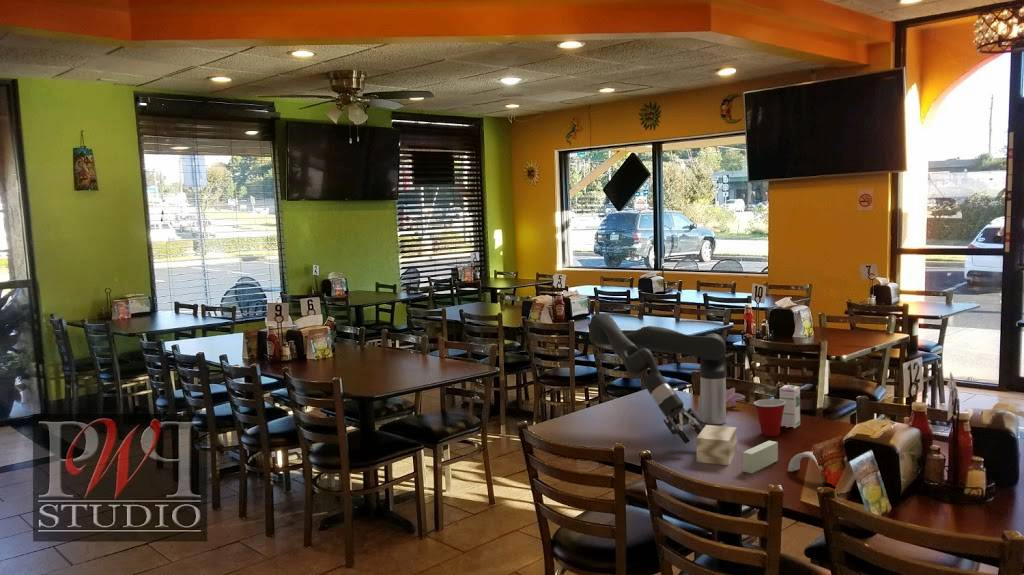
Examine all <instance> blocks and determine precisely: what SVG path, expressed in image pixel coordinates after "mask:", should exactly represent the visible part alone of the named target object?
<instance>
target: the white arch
mask: <svg viewBox="0 0 1024 575" xmlns="http://www.w3.org/2000/svg"><path fill="white" fill-rule="evenodd" d="M813 452H814V451H804V452H802V453H801V452H800V453H798V454H795V455H794V456H793V457H792V458H791V459H790V461H789V464H788V467H787V471H788V472H791V473H792V472H795V471H798V470H800V468H801V467H800V466H801V460H802V459H803V458H806V457H807V458H810V459H812V461H813V462H814V463H815V464H816V466H817V468H818V469H819V466H818V463H817V460H816V458H815V456H814V455H813Z"/></svg>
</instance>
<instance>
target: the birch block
mask: <svg viewBox="0 0 1024 575" xmlns="http://www.w3.org/2000/svg"><path fill="white" fill-rule="evenodd" d="M737 430H738V429H737V427H735V426H723V425H715V424H705V426H704V427H703V428H702V431H701V432H700V434H699V435H698V434H697V437H696V462H697V463H705V464H713V465H715V464H716V465H725V466H730V464H731V462H732V460H733V458H734V456H735V455H736V453H737V450H738V446H737V444H738V443H737V442H738V441H737V439H738V438H737V435H738V434H737Z"/></svg>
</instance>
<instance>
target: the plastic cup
mask: <svg viewBox="0 0 1024 575" xmlns="http://www.w3.org/2000/svg"><path fill="white" fill-rule="evenodd" d="M785 403H786V401H784V400H780V398H777V399H776V398H767V399H758V400H756V401H754V402H753V404H754V406H755V408H756V412H757V416H758V421H759V426H760V432H761V434H763V435H762V436H764V435H765V437H770V436H771V437H772V438H774V437H773V436H775V437H778V436H779V435H780V432H781V427H782V426H781V422H782V416H783V411H784V405H785Z"/></svg>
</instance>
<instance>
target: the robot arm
mask: <svg viewBox="0 0 1024 575" xmlns="http://www.w3.org/2000/svg"><path fill="white" fill-rule="evenodd" d="M589 321H590V322H589V333H588V339H589V341H590V342H591V343H593V344H596V345H597V344H598V345H603V346H611V348H612V350H613V351H614V353H615V354H616V355H617V356H618V357H619V358H620V359H621V360H622V361H623V363H624V367H625V369H626V371H627V372H628V373H629V374H630V375H631V376H638V375H639V374H641V373H642V372H645V371H646V370H648V369H649V370H650V371H649V372H648V374H646V375H645V377H643V379H642V384H643V386H644V387H645V389H646V390H647V392H648V393H649V395H650V396H651V398H652V399H653V402H655V404H656V406H657V407H658V408H659V410H660V411H661V412H662V414H663V416H665V417H664V419H663V423H664V424H665V426H666V427H667V428H668V430H669V431H670V433H671V434H672V435H677V436H679V438H680V439H681V441H682V442H683V443H684V444H685V445H687V444H689V443H690V442H691V438H690V437H689V435H688V434H687V432H685V430H684V429H683V426H687V427H690V428H692V429H693V430H694V432H695V433H696V435H697V436H698V435H699V434H700V432H701V431H702V430H703V428H702V427H701V425H700V424H701V423H704V424H706V423H707V424H706V425H721V424H722V425H723V424H725V423H726V422H727V404H726V389H727V386H726V385H727V384H726V382H727V381H726V379H727V377H726V376H727V375H726V373H727V372H726V369H727V364H726V363H727V362H726V360H727V358H726V341H725V340H724V338H723V337H722V336H721V335H720V334H718V333H707V334H705V335H704V336H700V335H699V336H697V335H691V334H685V333H682V332H680V331H676V330H673V329H669V328H667V327H661V326H653V325H648V326H647V325H645V326H643V327H641V328H639V329H636V330H634V331H631V332H629V333H625V334H624V332H623V331H622V330H621V328H620V327H619V325H618V324H617V323H616V321H615V319H614V318H613V317H612V316H610V315H609V314H605V313H595V314H593V315H592V316H591V318H590V320H589ZM652 351H653V352H659V353H666V354H667V353H670V354H680V355H681V354H683V355H688V356H692V357H697V358H700V361H699V362H700V364H699V365H700V367H699V369H700V370H699V372H700V374H699V377H700V395H698V398H697V400H698V404H697V405H698V406H697V408H698V414H696V412H695V411H694V410H693V408H691V407H689V408H688V409H687V410H686V409H685V408H684V402H683V401H682V400H681V398H680V397H679V395H678V394H677V393H676V392H675V390H674V388H673V387H672V386H671V385H670V384H669V383H668V382H667V380H666V379H665V378H664V376H663V375H662V374H661V372H660V369H659V367H658V365H657V362H656V359H655V357H654V355H653V353H652ZM701 421H702V422H701Z"/></svg>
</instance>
